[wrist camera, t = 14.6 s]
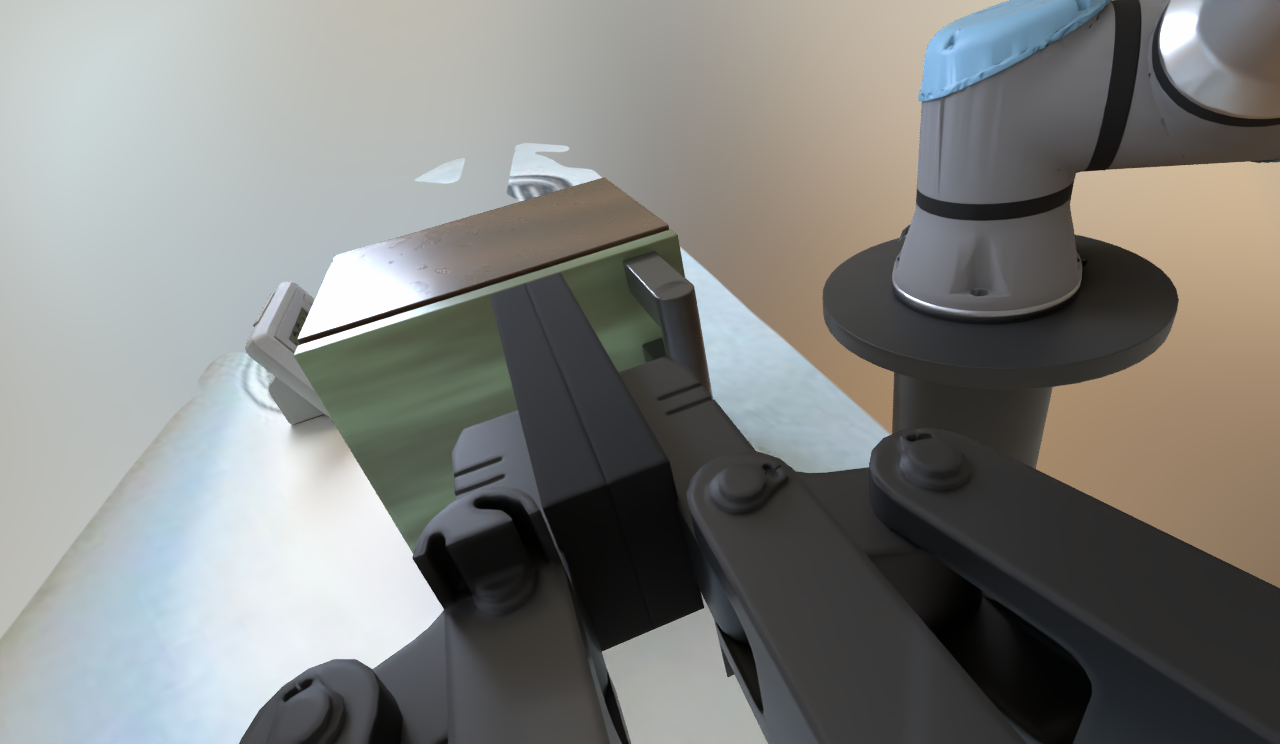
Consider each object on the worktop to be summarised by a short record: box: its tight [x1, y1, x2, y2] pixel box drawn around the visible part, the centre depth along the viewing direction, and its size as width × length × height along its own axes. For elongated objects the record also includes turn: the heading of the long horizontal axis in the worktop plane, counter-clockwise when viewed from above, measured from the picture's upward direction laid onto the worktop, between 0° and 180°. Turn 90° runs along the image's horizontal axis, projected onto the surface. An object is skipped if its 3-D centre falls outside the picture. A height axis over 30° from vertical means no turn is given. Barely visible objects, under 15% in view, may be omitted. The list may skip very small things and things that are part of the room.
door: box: [294, 230, 713, 554], centre depth 28 cm, size 6×17×19 cm, turn 108°
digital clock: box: [245, 282, 331, 424], centre depth 60 cm, size 16×9×11 cm, turn 8°
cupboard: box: [297, 178, 669, 345], centre depth 36 cm, size 12×17×19 cm
